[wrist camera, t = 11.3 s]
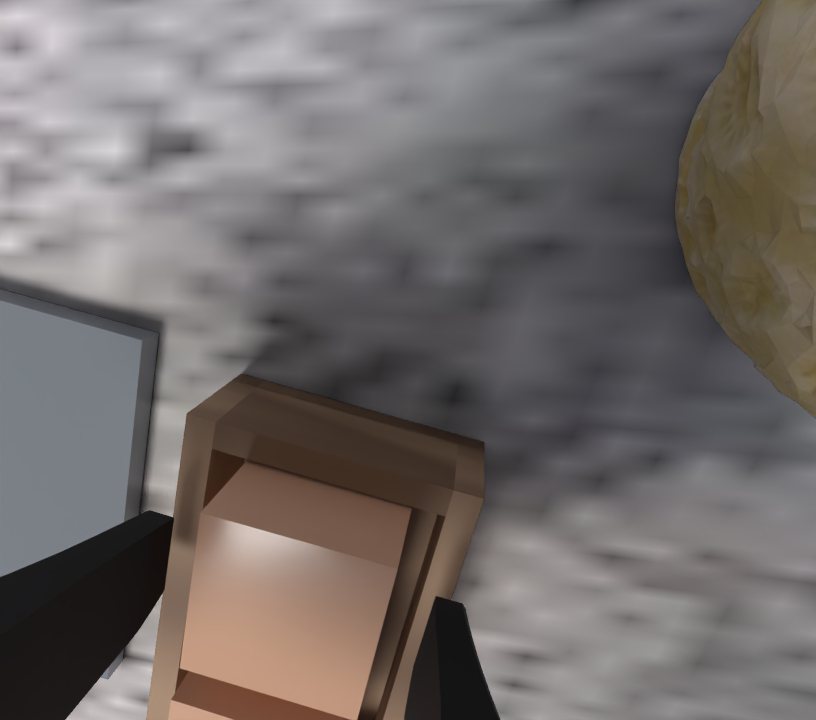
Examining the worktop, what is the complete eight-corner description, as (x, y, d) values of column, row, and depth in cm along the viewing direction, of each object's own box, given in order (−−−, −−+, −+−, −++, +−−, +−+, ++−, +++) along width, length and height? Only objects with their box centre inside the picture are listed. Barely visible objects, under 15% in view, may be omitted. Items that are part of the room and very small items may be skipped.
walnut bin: (391, 732, 19) (374, 830, 16) (192, 670, 19) (141, 755, 16) (484, 442, 15) (484, 498, 12) (241, 373, 16) (186, 413, 13)
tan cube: (390, 582, 16) (356, 721, 12) (258, 544, 16) (180, 668, 12) (422, 461, 15) (398, 569, 11) (280, 423, 15) (200, 512, 11)
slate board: (122, 660, 19) (107, 679, 18) (-25, 614, 19) (-46, 631, 19) (158, 333, 16) (142, 340, 15) (-24, 282, 16) (-49, 286, 15)
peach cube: (351, 708, 18) (308, 872, 13) (231, 671, 18) (152, 820, 14) (379, 609, 16) (343, 754, 12) (250, 570, 17) (170, 699, 12)
